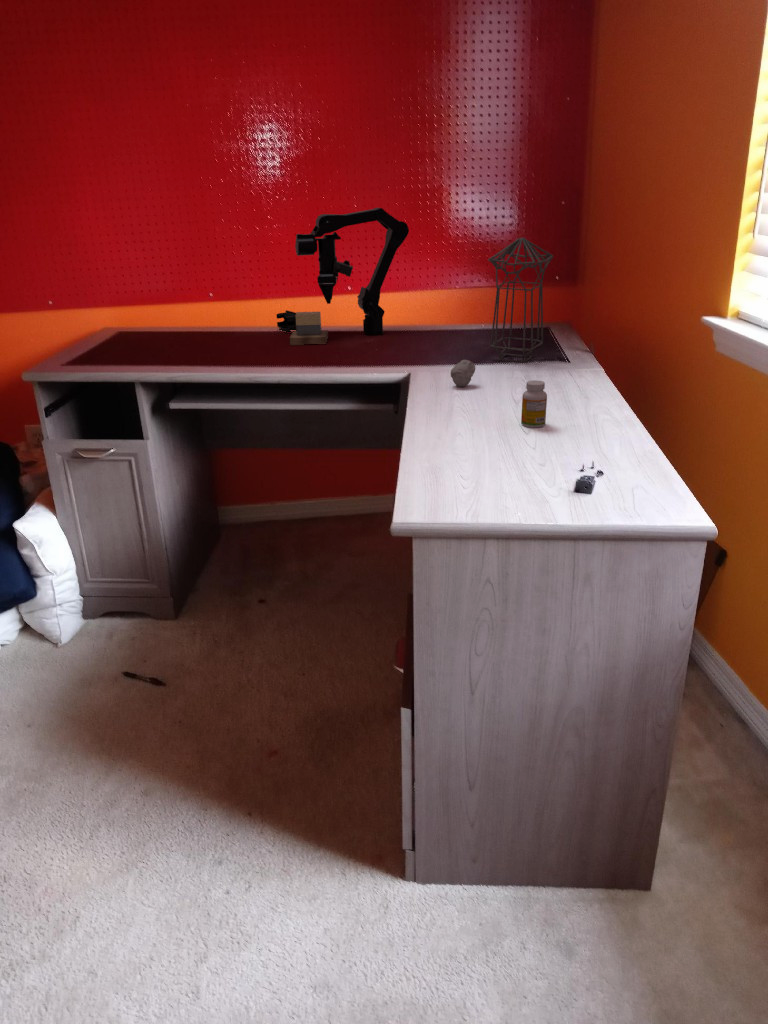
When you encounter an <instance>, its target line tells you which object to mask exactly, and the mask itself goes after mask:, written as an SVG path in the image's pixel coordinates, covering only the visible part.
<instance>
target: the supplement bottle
mask: <svg viewBox="0 0 768 1024" xmlns="http://www.w3.org/2000/svg"><path fill="white" fill-rule="evenodd" d="M545 383H546V382H545V381H543V380H538V379H537V380H535V379H534V380H528V381H526V383H525V384H526V385H525V388H526V390H525V391H523V393H522V397H521V398H522V399H521V401H522V403H521V419H520V420H521V423H520V424H521V425H522V426H523V427H526V428H528V429H529V428H530V429H531V428H532V429H538V428H543V427H544V426H545V425H546V420H547V405H548V394H547V392H546V391H544V390H545V387H546V384H545Z"/></svg>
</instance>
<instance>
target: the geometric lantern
mask: <svg viewBox="0 0 768 1024" xmlns="http://www.w3.org/2000/svg"><path fill="white" fill-rule="evenodd" d="M522 244H523V248H524V249H523V250H524V254H525V255H523V254H520V251H521V248H522ZM537 249H538V250H539V251H541V252H543V253H544V254H541V253H539V252H538V250H537ZM516 251H517V253H515V252H516ZM507 255H509V256H508V257H507V259H506V258H505V257H506V256H507ZM511 257H512V258H513V259H514V263H512V262H511V263H510V262H509V260H510V259H511ZM520 257H521V258H525V260H524V262H523V261H521V260H520ZM528 258H530V259H531V261H527V260H528ZM553 258H554V255H553V254H552V253H550V252H548V251H546V250H544V249H543V248H541V247H540V246H538V245H536V244H535V243H533V242H532V241H529V240H528V239H526V237H517V239H515V240H514V241H513V242H511V243H509V245H506V247H504V248H503V249H501V250H499V252H496V254H494V255H492V256H491V257H489V258H488V259H487V261H488V262H490V263H491V264H492V265H493V266H494V267H495V268H494V269H495V288H496V294H495V300H494V301H495V304H494V312H493V319H492V328H491V337H490V345H489V346H490V347H491V348H492V349H493V350H494V351H495V352H497V353H498V355H499V357H498V360H499V361H502V362H503V361H504V362H511V363H512V362H513V363H514V362H515V363H527V362H528V361H529V360H531V358H533V351H534V350H535V349H537V348H538V347H540V346H541V345H543V344H544V310H543V308H544V306H543V305H544V304H543V303H544V302H543V301H544V300H543V298H544V297H543V293H544V292H543V290H544V289H543V281H544V277H545V276H544V275H545V272H546V269H547V267H548V266H549V264H550V262H551V261H552V259H553ZM505 259H506V260H505ZM536 260H537V261H536ZM543 263H544V266H543ZM519 265H522V266H521V268H519V269H518V270H516V266H519ZM507 266H513V271H507ZM537 266H538V269H539V273H538V270H537ZM527 268H531V269H534V270H535V272H536V275H537V278H536V280H535V282H531V281H522V279H521V277H520V276H519V275H520V273H521V272H522V271H524V270H526V269H527ZM498 270H501V271H502V272H504V274H505V275H506V276H505V277H504V279H503V281H502V282H501V283H500V284H499V283H498V282H499V281H498V280H499V279H498V276H499V275H498ZM509 275H515V277H514V279H513V280H511V279H510V277H509ZM540 276H541V277H540ZM506 279H508V281H506ZM517 279H518V281H517ZM538 280H539V282H538ZM505 284H506V287H502V286H503V285H505ZM510 284H513V285H512V287H510ZM516 284H521V286H522V288H516ZM525 284H528V285H529V284H531V285H532V284H533V286H532V287H531V288H526V285H525ZM536 285H537V286H536ZM501 289H502V290H506V294H505V303H504V312H503V313H504V314H503V324H502V332H501V338H500V339H498V329H499V327H498V326H499V308H500V292H501ZM535 289H538V305H537V307H538V309H537V327H536V328H537V330H536V339H535V338H534V330H533V329H534V327H533V326H534V319H533V318H534V313H533V311H534V310H533V309H534V290H535ZM510 290H512V298H511V308H510V309H511V310H510V311H511V313H510V323H509V324H510V326H509V337H506V336H505V327H506V318H507V317H506V316H507V307H508V299H509V291H510ZM515 291H524V304H523V308H524V309H523V332H522V333H523V336H522V337H523V338H522V337H512V333H513V332H512V331H513V316H514V302H515ZM528 291H529V292H530V338H526V327H527V326H526V324H527V323H526V321H527V319H526V318H527V292H528ZM540 321H541V322H540ZM540 327H541V328H540ZM540 329H541V331H540ZM494 332H495V334H494ZM504 336H505V337H504ZM540 337H541V338H540ZM539 338H540V339H541V340H540V339H539ZM493 340H494V342H493ZM505 340H508V347H507V345H506V343H505ZM511 340H517V341H522V348H521V347H510V346H511ZM501 341H502V343H503V345H504V346H499V345H497V344H498V343H499V342H501ZM526 341H530V348H526ZM537 342H538V344H537ZM500 349H502V351H500ZM510 351H517V352H518V351H519V352H522V354H516V353H514V354H513V353H510ZM525 352H527V353H526V354H525ZM506 356H511V357H512V356H513V357H522V360H514V359H513V360H512V359H504V357H506Z"/></svg>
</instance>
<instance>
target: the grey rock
mask: <svg viewBox="0 0 768 1024" xmlns="http://www.w3.org/2000/svg"><path fill="white" fill-rule="evenodd" d="M475 371H476V365H475V363H474V362H472V361H470V360H468V359H462V360H460V361H459V362H458V363H456V364H455V365H454V366H453V367H452V368H451V370H450V377H451V379H452V382H453V383H454V385H455V386H457V387H462V388H463V387H464V388H465V387H466V386H468V385H469V384H470V382H471V381H472V377H473V376H474V374H475Z"/></svg>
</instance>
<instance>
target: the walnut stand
mask: <svg viewBox="0 0 768 1024" xmlns="http://www.w3.org/2000/svg"><path fill="white" fill-rule="evenodd" d="M327 339H329V330H328V329H326V330H322V329H321V335H306V336H297V331H293V332H292V334H290V336H289V346H305V345H304V344H326V345H327V343H326V342H328V340H327Z"/></svg>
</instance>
